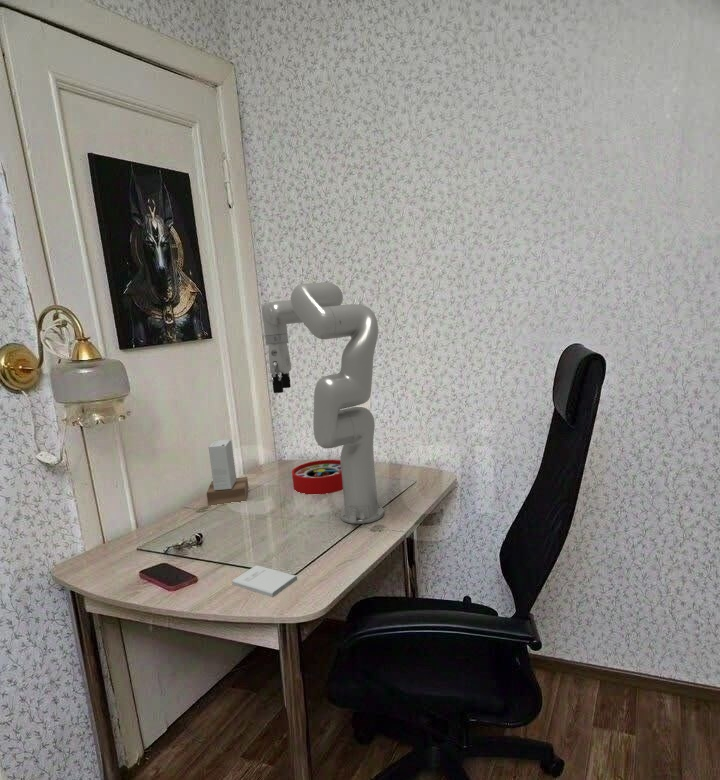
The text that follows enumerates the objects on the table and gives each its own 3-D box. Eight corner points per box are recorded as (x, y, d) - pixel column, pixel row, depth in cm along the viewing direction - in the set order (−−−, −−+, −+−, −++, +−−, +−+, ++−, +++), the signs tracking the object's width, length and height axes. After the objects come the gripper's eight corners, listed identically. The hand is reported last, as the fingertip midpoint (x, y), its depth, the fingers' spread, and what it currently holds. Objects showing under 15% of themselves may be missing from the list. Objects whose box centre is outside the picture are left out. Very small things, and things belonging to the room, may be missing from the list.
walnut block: (246, 502, 175) (244, 488, 174) (208, 507, 174) (206, 492, 173) (248, 490, 187) (247, 476, 186) (213, 495, 185) (211, 481, 185)
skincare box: (220, 483, 182) (213, 440, 180) (237, 481, 182) (231, 438, 180) (213, 491, 173) (207, 446, 171) (232, 489, 173) (225, 444, 171)
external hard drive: (272, 599, 115) (232, 586, 122) (297, 581, 122) (257, 570, 129) (272, 592, 115) (231, 580, 122) (296, 575, 122) (257, 563, 129)
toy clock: (300, 460, 196) (354, 458, 193) (301, 476, 197) (355, 474, 194) (284, 479, 176) (344, 477, 173) (286, 496, 177) (346, 494, 174)
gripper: (280, 341, 171) (286, 394, 174) (294, 337, 188) (299, 385, 191) (258, 342, 172) (264, 395, 175) (273, 338, 189) (278, 386, 192)
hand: (282, 390), depth 183 cm, fingers open, 9 cm apart
